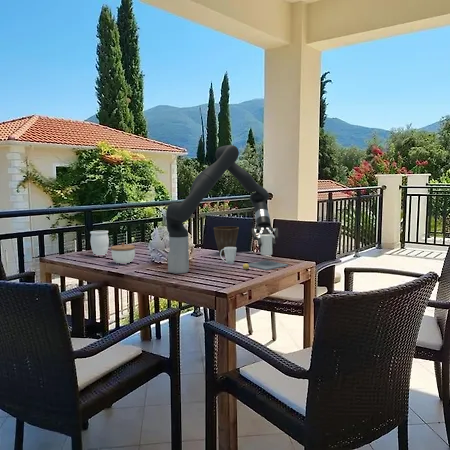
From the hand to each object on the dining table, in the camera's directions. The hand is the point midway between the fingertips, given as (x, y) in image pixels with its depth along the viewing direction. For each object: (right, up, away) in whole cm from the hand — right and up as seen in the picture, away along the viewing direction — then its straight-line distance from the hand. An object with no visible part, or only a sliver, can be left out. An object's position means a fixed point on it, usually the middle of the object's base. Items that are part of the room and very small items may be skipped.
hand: (267, 245), depth 214 cm
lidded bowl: (-76, -11, +14) cm, 78 cm away
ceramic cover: (0, -5, +2) cm, 5 cm away
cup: (-20, -10, +13) cm, 25 cm away
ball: (-11, -12, -6) cm, 17 cm away
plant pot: (-20, -7, +37) cm, 43 cm away
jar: (-95, -8, +36) cm, 101 cm away
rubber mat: (0, -11, +3) cm, 11 cm away
